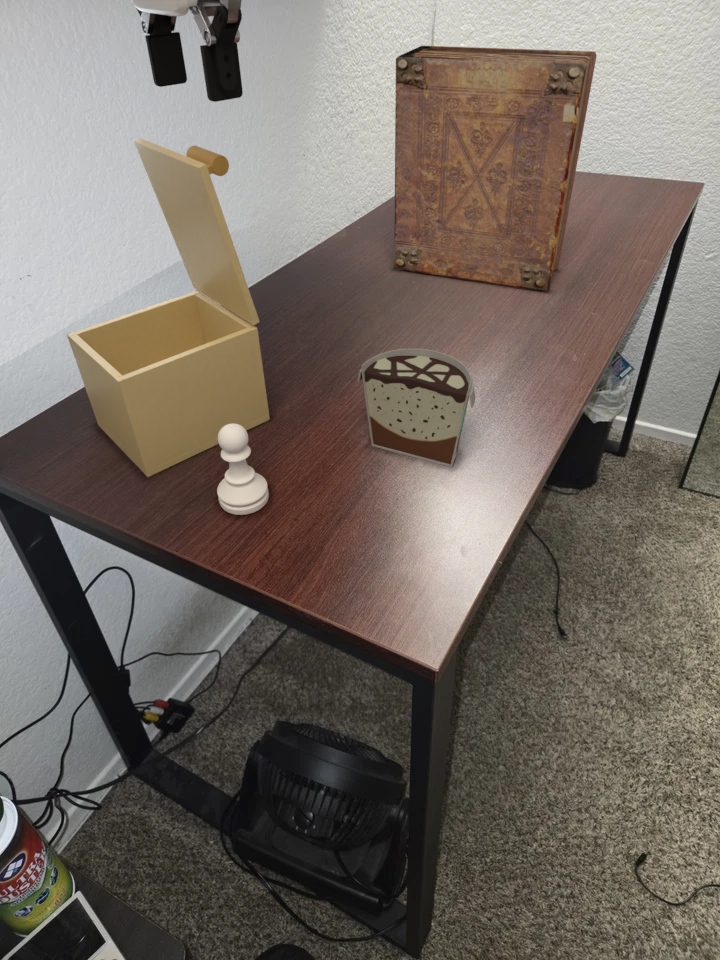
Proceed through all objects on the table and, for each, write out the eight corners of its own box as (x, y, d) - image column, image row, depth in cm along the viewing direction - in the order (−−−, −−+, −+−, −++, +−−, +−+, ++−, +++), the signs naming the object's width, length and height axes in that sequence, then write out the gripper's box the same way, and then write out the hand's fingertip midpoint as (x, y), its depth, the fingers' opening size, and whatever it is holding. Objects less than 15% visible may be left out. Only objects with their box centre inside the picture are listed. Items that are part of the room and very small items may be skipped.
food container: (483, 438, 73) (492, 359, 66) (465, 471, 69) (474, 390, 62) (381, 413, 77) (381, 336, 71) (359, 442, 73) (356, 364, 66)
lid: (198, 167, 57) (243, 145, 58) (133, 141, 64) (174, 122, 66) (254, 325, 69) (289, 303, 70) (193, 288, 76) (227, 268, 78)
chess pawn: (277, 504, 66) (267, 431, 60) (230, 522, 64) (215, 449, 58) (257, 476, 69) (245, 405, 63) (212, 493, 67) (195, 421, 61)
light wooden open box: (147, 477, 69) (118, 381, 62) (98, 425, 77) (66, 334, 69) (270, 419, 77) (257, 327, 69) (214, 377, 84) (197, 290, 76)
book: (559, 269, 107) (599, 51, 87) (548, 293, 100) (588, 63, 81) (412, 249, 115) (418, 45, 95) (393, 269, 108) (395, 55, 89)
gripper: (61, -166, 52) (117, 84, 63) (165, -192, 41) (210, 112, 53) (149, -162, 55) (187, 74, 66) (264, -185, 45) (286, 99, 56)
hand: (197, 91), depth 59 cm, fingers open, 9 cm apart
